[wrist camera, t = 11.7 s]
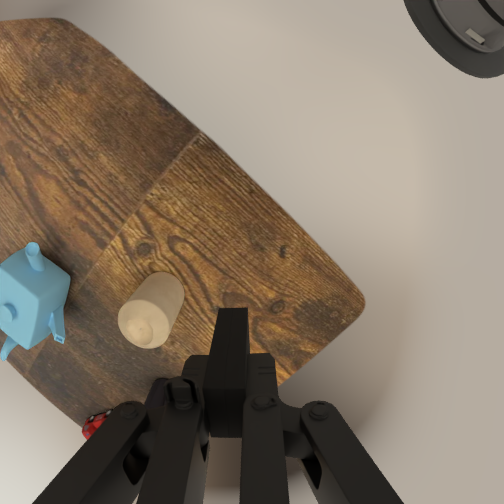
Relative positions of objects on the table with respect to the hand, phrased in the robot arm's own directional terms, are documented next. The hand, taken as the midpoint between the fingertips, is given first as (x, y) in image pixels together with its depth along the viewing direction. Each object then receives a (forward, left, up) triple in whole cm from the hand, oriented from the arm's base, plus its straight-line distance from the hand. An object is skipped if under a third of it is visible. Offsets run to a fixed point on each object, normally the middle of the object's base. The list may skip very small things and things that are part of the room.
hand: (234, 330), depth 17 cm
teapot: (+25, -13, -21) cm, 35 cm away
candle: (+11, -2, -21) cm, 24 cm away
